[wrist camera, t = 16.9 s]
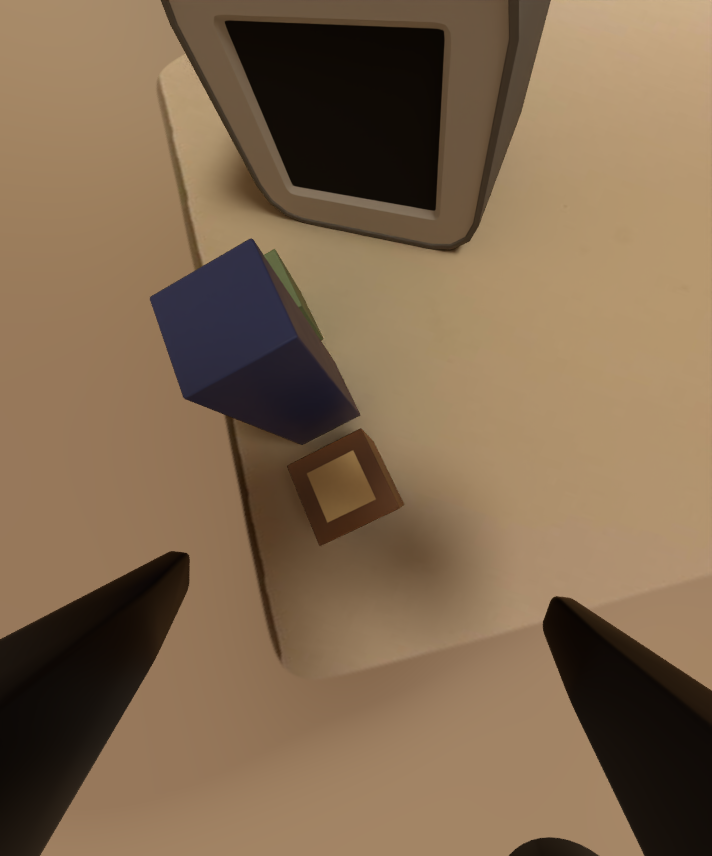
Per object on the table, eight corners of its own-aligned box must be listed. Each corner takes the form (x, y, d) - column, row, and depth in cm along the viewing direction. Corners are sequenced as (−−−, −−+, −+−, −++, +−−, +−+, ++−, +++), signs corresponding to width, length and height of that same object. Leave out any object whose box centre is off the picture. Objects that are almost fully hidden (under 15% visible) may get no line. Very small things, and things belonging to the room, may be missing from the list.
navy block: (360, 415, 23) (298, 336, 11) (302, 445, 23) (182, 399, 12) (333, 360, 24) (251, 236, 12) (278, 389, 24) (147, 296, 13)
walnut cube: (404, 504, 21) (399, 508, 17) (340, 535, 22) (318, 546, 17) (373, 440, 22) (361, 427, 18) (312, 470, 23) (285, 465, 18)
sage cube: (323, 339, 24) (301, 304, 20) (269, 368, 25) (235, 341, 20) (299, 290, 25) (274, 247, 21) (248, 319, 26) (211, 283, 21)
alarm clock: (273, 216, 27) (91, -123, 12) (324, 102, 28) (216, -332, 13) (471, 257, 23) (564, -170, 8) (521, 123, 25) (680, -460, 9)
